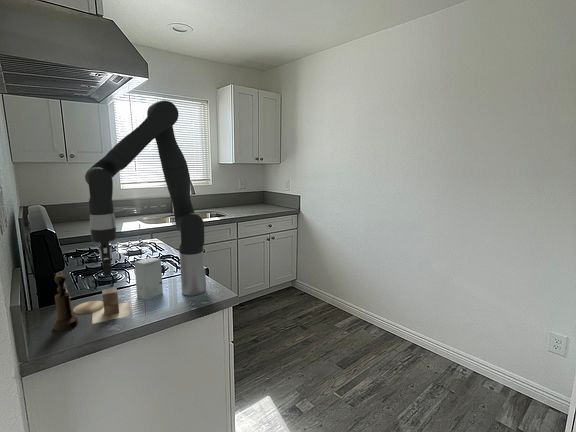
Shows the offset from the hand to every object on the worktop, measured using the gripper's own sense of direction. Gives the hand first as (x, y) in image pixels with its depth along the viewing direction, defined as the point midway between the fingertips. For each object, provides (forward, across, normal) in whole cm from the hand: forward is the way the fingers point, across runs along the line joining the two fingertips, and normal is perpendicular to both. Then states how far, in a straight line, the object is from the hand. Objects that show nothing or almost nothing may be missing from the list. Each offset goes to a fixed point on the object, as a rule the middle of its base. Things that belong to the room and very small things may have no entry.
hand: (107, 271), depth 113 cm
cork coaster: (+15, +8, +7) cm, 19 cm away
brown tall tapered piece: (+16, -3, +13) cm, 21 cm away
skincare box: (+15, +9, -14) cm, 23 cm away
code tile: (+15, 0, 0) cm, 15 cm away
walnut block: (+15, 0, 0) cm, 15 cm away
